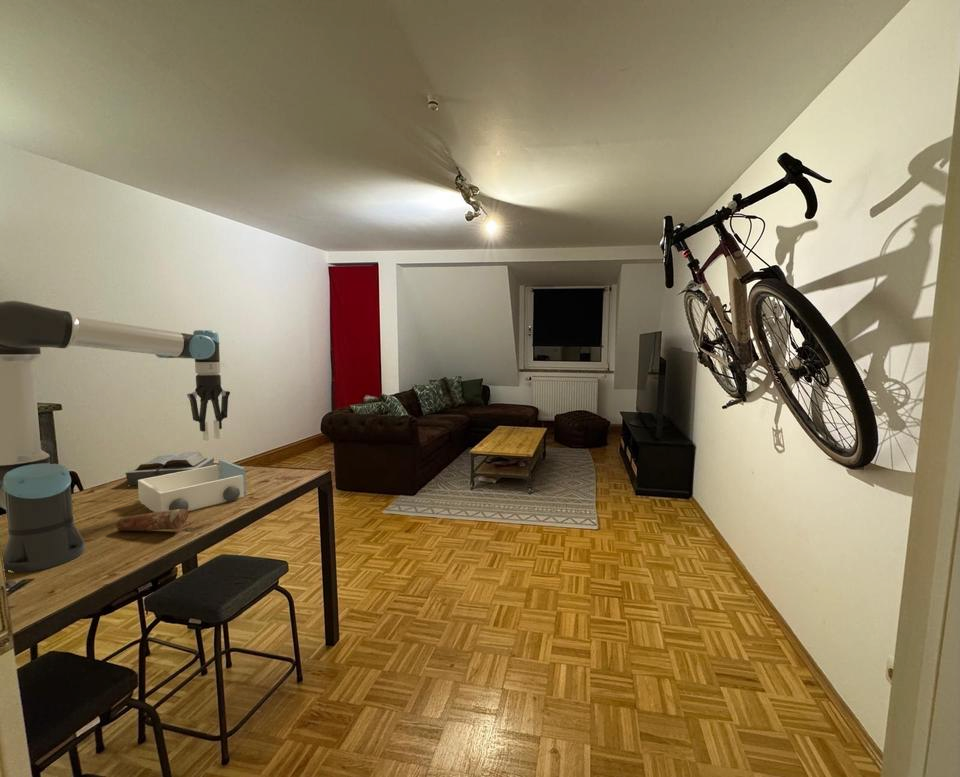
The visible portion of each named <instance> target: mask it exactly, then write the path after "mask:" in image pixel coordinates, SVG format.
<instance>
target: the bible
mask: <svg viewBox="0 0 960 777" xmlns="http://www.w3.org/2000/svg"><path fill="white" fill-rule="evenodd" d="M214 460H215V457H204V455H203V454H202V453H201V451H188V452H187V451H186V452H185V451H184V452H182V453H181V454H168V455H157V456H155V457H154V458H152V459H151V460H149V461H146V462H144V463H140V465H139V466H137V467H134V468H132V469H131V470H129V471H126V472H125V478H126V481H127V484H126V486H127V485H138V480H140V479H145V478H151V477H156V476H161V475H166V474H171V473H177V472H182V471H187V470H192V469H197V468H202V467H208V466H213V465H215V462H214Z"/></svg>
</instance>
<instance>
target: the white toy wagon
mask: <svg viewBox="0 0 960 777" xmlns="http://www.w3.org/2000/svg"><path fill="white" fill-rule="evenodd" d="M137 488H138V490H137V491H138V502H139V501H140V502H141V503H142V504H144V505H145V506H146V507H148V508H149V511H152V512H153V513H154V512H162V511H169V510H177V509H186V510H188V512H189V511H190V512H191V511H194V510H198V509H202V508H206V507H210V506H214V505H218V504H223V503H226V502H228V503H229V502H230V503H231V502H235V501H236V500H238V499H241V498H245V494H244V484H243V475H239V476H234V477H230V478H225V479H220V478H219V464H214V465H213V466H208V467H202V468H197V469H192V470H187V471H182V472H177V473H171V474H166V475H161V476H156V477H151V478H145V479H140V480H138V486H137ZM141 503H140V504H141ZM142 504H141V505H142ZM145 506H144V507H145ZM146 507H145V508H146ZM148 508H147V509H148Z"/></svg>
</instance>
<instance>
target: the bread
mask: <svg viewBox="0 0 960 777" xmlns="http://www.w3.org/2000/svg"><path fill="white" fill-rule="evenodd" d="M188 517H189V511H188V510H186V509H177V510H169V511H162V512H154V511H153V512H150V513H149V512H148V513H144V514H143V513H142V514H136V515H130V516H124V517H121V518H120V519H119V520H118V521H117V524H116V529H117V531H118V532H128V531H129V532H134V531H135V532H137V531H139V532H140V531H161V530H165V531H167V530H169V531H171V530H178V529H181V528H182V526H183V525H184V524H185V523H186V521H187V519H188Z"/></svg>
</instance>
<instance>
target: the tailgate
mask: <svg viewBox="0 0 960 777" xmlns="http://www.w3.org/2000/svg"><path fill="white" fill-rule="evenodd" d="M239 475H243V484H244V495H246V493H247V488H246V487H247V486H246V485H247V483H246V482H247V481H246V468H245V467H243V466H240V465H238V464H235V463H232V462H230V461H227V460H224V459H218V478H219V480H220V479H225V478H230V477H234V476H239Z"/></svg>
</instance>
